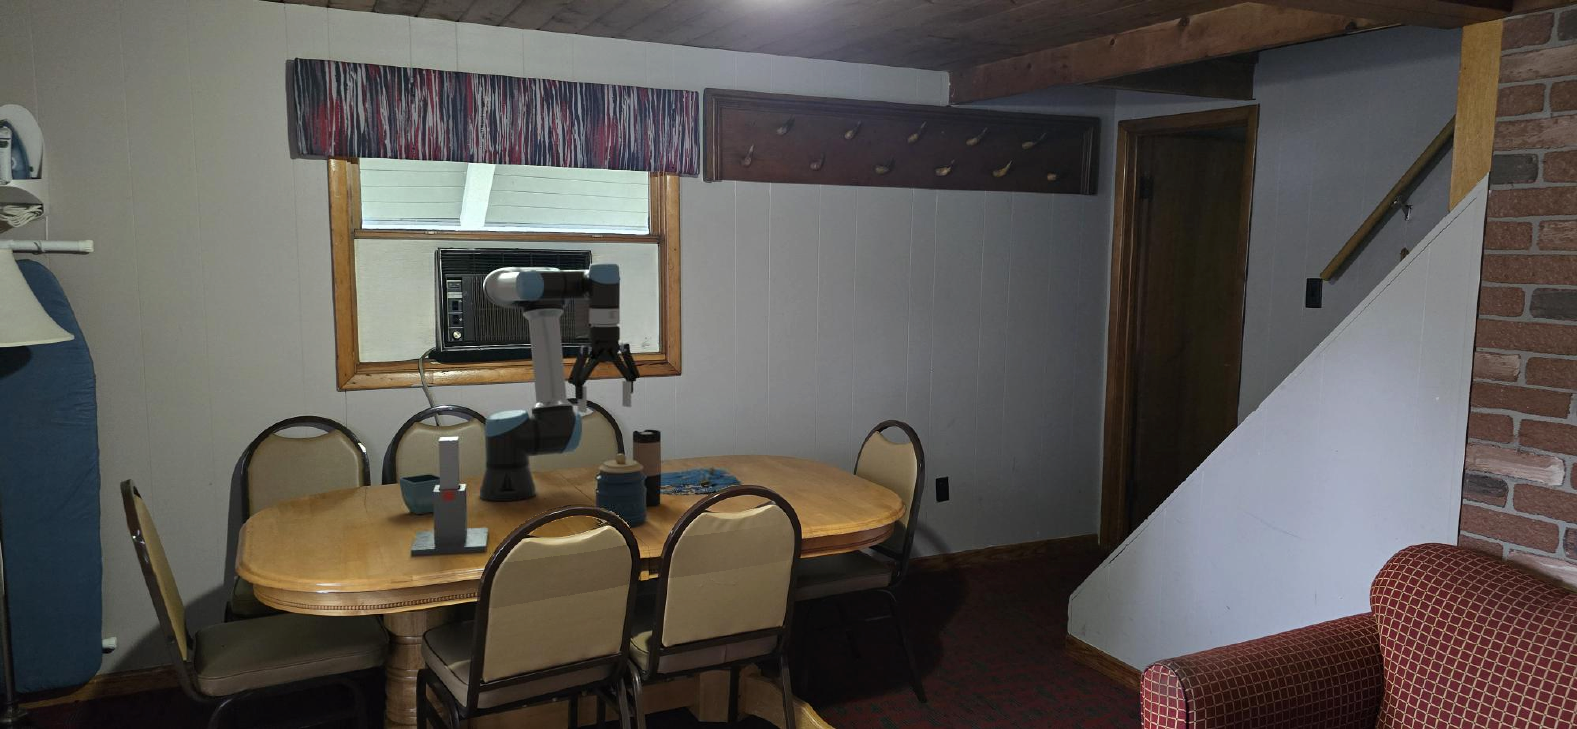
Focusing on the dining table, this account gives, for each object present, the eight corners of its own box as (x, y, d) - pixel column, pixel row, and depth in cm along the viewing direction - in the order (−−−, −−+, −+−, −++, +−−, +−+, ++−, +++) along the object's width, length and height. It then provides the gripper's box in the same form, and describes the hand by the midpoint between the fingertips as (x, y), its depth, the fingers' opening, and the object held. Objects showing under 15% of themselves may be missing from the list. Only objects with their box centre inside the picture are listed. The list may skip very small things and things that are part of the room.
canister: (601, 515, 265) (600, 448, 263) (650, 516, 265) (650, 449, 263) (590, 528, 252) (589, 458, 250) (642, 529, 252) (641, 459, 250)
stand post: (441, 539, 234) (438, 440, 232) (442, 534, 238) (440, 437, 236) (459, 538, 235) (457, 440, 233) (460, 533, 239) (458, 436, 237)
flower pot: (431, 505, 273) (430, 473, 272) (446, 512, 266) (446, 478, 265) (399, 511, 267) (398, 477, 266) (414, 517, 260) (413, 483, 259)
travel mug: (655, 508, 272) (655, 434, 270) (628, 506, 274) (628, 433, 272) (664, 501, 280) (664, 430, 278) (638, 500, 281) (638, 428, 279)
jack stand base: (411, 556, 227) (409, 497, 226) (418, 537, 242) (416, 481, 241) (485, 552, 231) (484, 494, 230) (488, 533, 246) (487, 478, 245)
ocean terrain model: (706, 506, 282) (706, 488, 281) (621, 492, 297) (621, 474, 296) (762, 482, 307) (762, 465, 307) (681, 469, 322) (681, 453, 321)
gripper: (570, 328, 243) (571, 416, 245) (653, 324, 261) (653, 405, 263) (553, 326, 248) (554, 412, 251) (635, 322, 266) (635, 402, 268)
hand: (604, 409), depth 257 cm, fingers open, 13 cm apart
